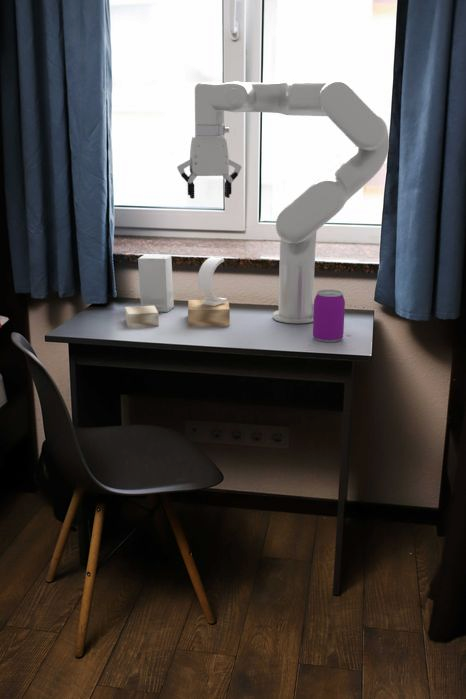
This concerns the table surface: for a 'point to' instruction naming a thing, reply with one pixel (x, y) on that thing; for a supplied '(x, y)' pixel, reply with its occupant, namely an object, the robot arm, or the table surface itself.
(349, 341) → the table surface
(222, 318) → the oak block
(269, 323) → the table surface
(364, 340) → the table surface
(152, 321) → the birch block
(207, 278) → the white crescent piece
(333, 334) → the beverage can
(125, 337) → the table surface
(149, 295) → the skincare box
